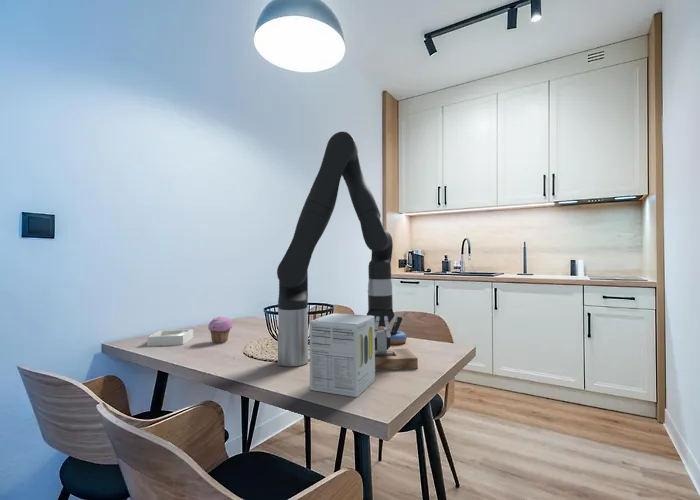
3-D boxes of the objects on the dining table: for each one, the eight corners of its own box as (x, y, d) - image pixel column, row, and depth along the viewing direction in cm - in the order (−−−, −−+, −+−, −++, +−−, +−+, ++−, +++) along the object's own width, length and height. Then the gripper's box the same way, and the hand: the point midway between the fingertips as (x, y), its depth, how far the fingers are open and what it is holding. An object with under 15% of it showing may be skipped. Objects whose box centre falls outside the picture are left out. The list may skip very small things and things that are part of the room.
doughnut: (406, 345, 135) (405, 332, 135) (379, 345, 137) (378, 333, 137) (407, 341, 144) (407, 329, 145) (382, 341, 146) (382, 330, 147)
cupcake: (215, 339, 148) (215, 314, 149) (235, 339, 147) (235, 315, 147) (204, 344, 140) (204, 318, 140) (225, 345, 138) (225, 319, 139)
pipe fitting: (159, 345, 142) (173, 345, 140) (158, 335, 142) (173, 334, 141) (174, 340, 150) (188, 340, 148) (173, 331, 150) (187, 330, 148)
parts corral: (147, 346, 139) (147, 336, 139) (160, 338, 150) (160, 330, 151) (183, 344, 140) (183, 335, 140) (193, 337, 152) (193, 329, 152)
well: (350, 371, 106) (350, 360, 106) (347, 360, 117) (346, 350, 117) (417, 368, 108) (417, 357, 108) (407, 357, 119) (407, 348, 119)
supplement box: (357, 398, 86) (356, 324, 86) (308, 390, 91) (308, 320, 91) (376, 380, 98) (375, 315, 98) (332, 374, 103) (331, 312, 103)
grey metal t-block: (370, 359, 111) (370, 332, 111) (369, 356, 114) (368, 330, 114) (393, 358, 112) (392, 331, 112) (391, 355, 114) (390, 329, 115)
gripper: (359, 295, 108) (360, 353, 108) (405, 294, 110) (406, 351, 110) (356, 292, 116) (357, 347, 115) (399, 291, 117) (400, 345, 117)
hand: (381, 349), depth 112 cm, fingers closed on grey metal t-block, 3 cm apart
